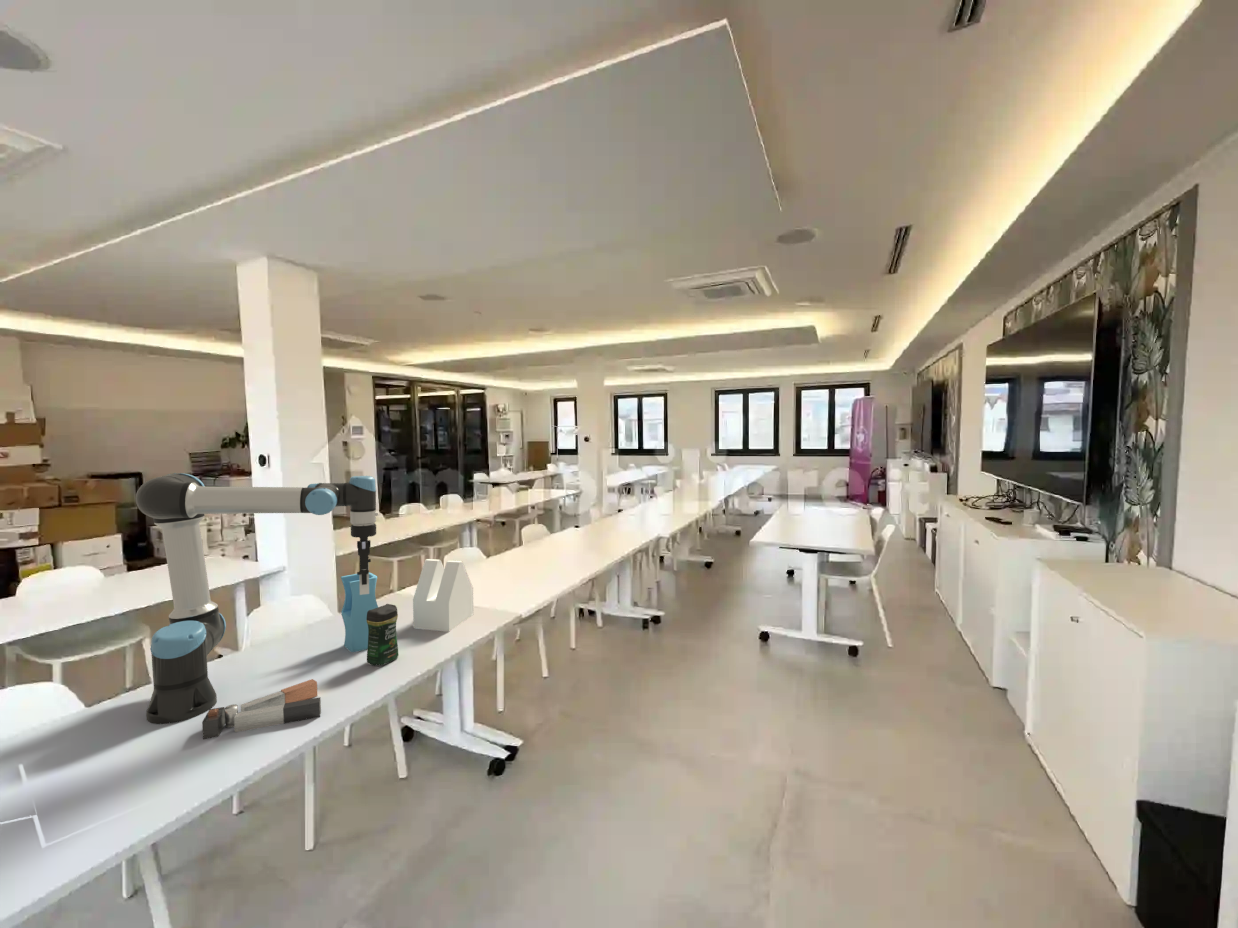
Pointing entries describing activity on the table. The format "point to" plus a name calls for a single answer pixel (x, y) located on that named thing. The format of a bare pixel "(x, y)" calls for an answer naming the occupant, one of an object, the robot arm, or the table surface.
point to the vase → (357, 611)
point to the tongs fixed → (261, 716)
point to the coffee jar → (382, 635)
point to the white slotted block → (442, 596)
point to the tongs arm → (274, 700)
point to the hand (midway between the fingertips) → (364, 588)
